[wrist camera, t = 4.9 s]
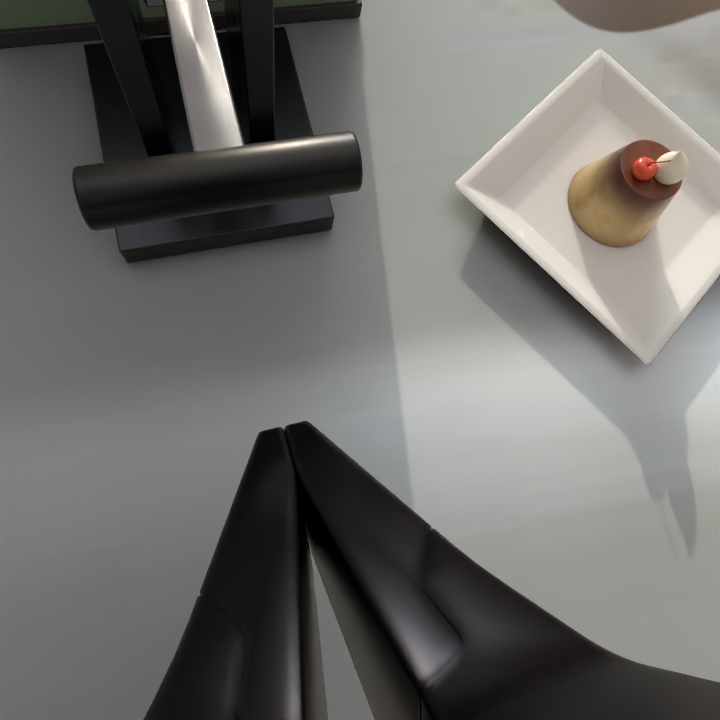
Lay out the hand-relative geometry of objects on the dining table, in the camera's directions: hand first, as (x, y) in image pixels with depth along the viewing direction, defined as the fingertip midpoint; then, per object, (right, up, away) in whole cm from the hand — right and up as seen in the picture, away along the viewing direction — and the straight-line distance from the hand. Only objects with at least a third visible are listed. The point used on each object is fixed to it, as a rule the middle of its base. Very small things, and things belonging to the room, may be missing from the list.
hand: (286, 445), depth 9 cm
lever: (-3, +9, +6) cm, 11 cm away
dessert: (+14, +9, +18) cm, 25 cm away
